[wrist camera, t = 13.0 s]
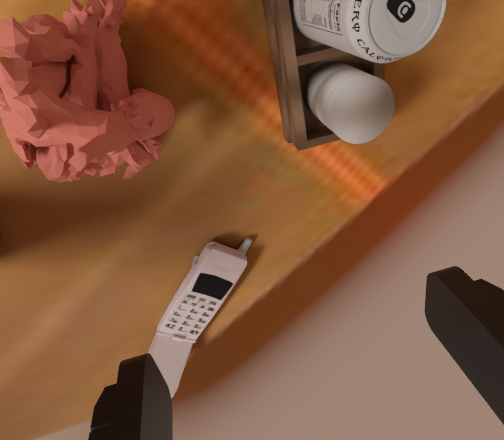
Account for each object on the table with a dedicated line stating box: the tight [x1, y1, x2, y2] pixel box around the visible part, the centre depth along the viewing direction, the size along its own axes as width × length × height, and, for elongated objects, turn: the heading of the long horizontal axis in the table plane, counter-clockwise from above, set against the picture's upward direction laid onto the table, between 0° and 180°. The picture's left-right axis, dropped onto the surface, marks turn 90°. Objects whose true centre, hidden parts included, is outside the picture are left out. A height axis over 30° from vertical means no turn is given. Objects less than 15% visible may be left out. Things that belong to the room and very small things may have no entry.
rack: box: [262, 0, 395, 150], centre depth 32 cm, size 25×10×10 cm, turn 12°
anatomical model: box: [0, 0, 175, 182], centre depth 28 cm, size 15×15×20 cm
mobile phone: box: [148, 237, 252, 398], centre depth 50 cm, size 6×6×25 cm
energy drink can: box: [291, 0, 446, 63], centre depth 28 cm, size 6×6×15 cm
